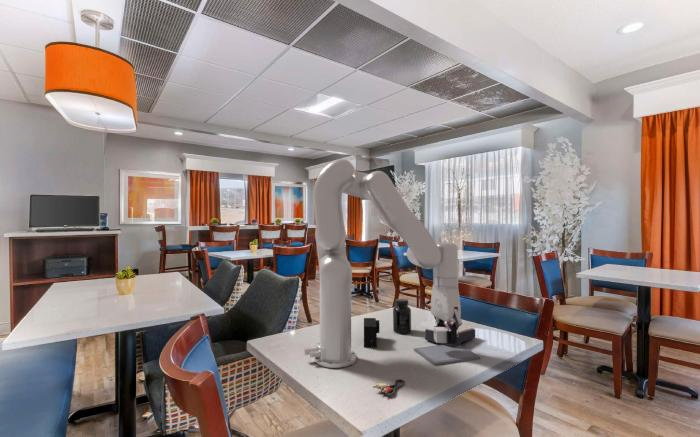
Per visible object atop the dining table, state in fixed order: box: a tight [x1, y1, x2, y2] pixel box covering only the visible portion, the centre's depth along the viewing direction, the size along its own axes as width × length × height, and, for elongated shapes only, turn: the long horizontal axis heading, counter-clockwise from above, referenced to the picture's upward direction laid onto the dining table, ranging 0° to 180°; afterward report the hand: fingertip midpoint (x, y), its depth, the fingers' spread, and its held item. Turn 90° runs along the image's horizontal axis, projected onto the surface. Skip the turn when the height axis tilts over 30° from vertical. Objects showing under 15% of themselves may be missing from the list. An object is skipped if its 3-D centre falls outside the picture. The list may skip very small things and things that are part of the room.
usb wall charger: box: [433, 326, 459, 344], centre depth 102 cm, size 4×7×4 cm, turn 89°
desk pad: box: [413, 344, 481, 366], centre depth 102 cm, size 16×12×1 cm
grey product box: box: [424, 322, 476, 347], centre depth 115 cm, size 11×4×15 cm
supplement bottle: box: [392, 298, 412, 335], centre depth 124 cm, size 7×7×12 cm
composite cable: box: [372, 379, 406, 399], centre depth 80 cm, size 10×5×2 cm, turn 128°
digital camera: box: [363, 317, 380, 349], centre depth 113 cm, size 10×5×7 cm, turn 177°
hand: (446, 339), depth 102 cm, fingers closed on usb wall charger, 4 cm apart
